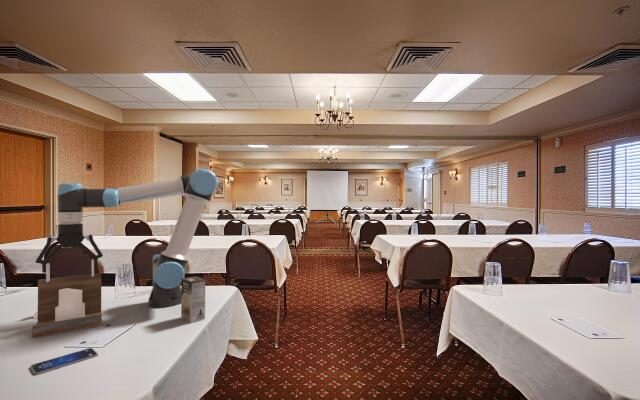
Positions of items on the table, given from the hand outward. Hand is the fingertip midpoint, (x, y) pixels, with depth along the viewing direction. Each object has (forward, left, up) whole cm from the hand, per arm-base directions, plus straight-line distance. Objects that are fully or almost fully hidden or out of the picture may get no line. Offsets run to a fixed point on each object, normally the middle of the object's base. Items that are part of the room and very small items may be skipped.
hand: (71, 278), depth 122 cm
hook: (+18, -13, -18) cm, 29 cm away
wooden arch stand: (0, 0, -18) cm, 18 cm away
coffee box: (-45, -3, -18) cm, 48 cm away
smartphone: (-18, +30, -19) cm, 39 cm away
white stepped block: (0, 0, -17) cm, 17 cm away
